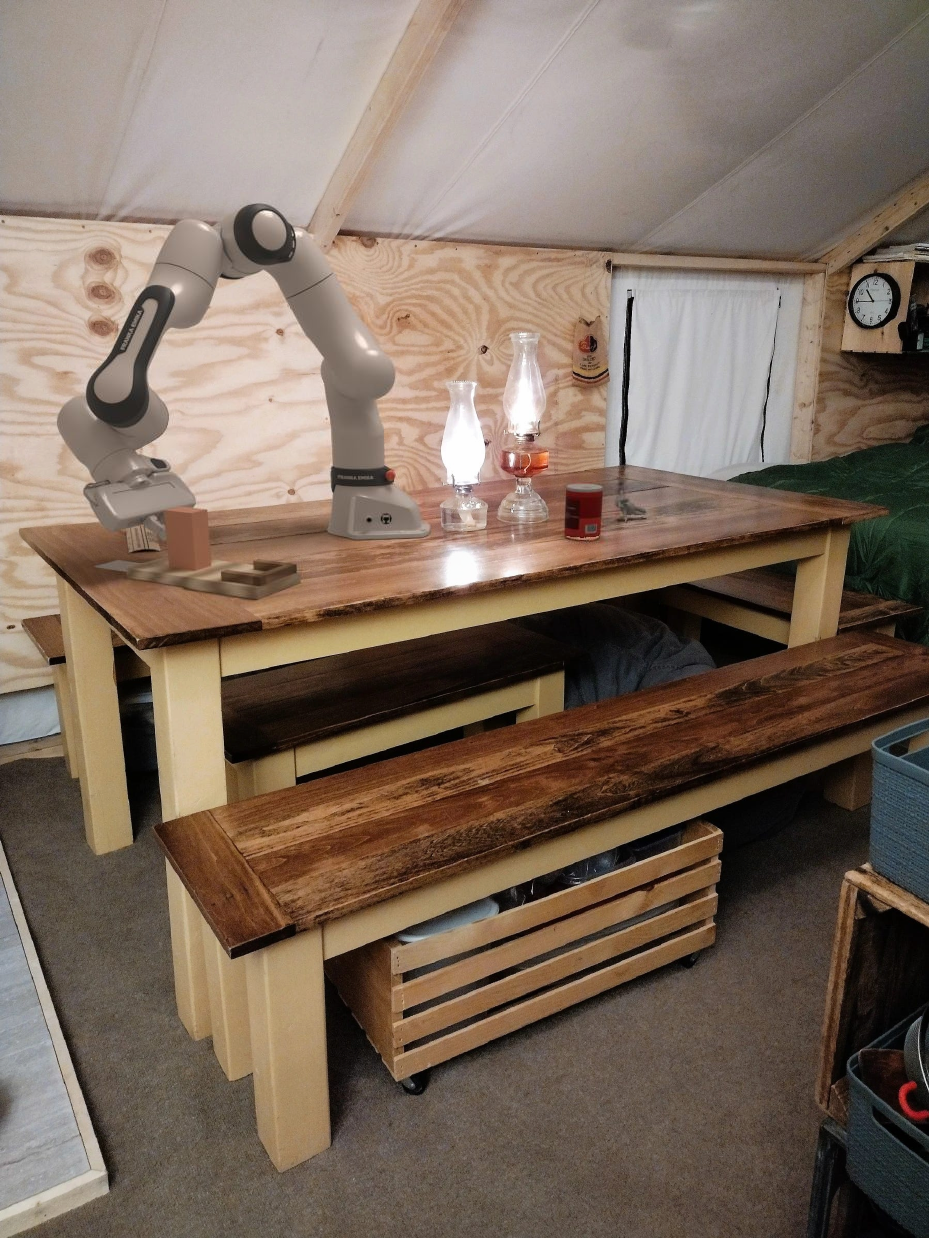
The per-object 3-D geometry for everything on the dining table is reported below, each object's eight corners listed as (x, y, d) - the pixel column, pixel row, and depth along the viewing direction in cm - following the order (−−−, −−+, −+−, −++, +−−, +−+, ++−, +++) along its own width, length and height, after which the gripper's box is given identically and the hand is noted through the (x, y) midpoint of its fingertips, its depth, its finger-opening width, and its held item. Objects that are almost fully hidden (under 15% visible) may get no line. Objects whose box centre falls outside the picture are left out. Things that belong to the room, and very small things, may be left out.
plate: (93, 568, 168) (93, 566, 167) (118, 561, 173) (118, 560, 173) (126, 573, 164) (126, 571, 164) (150, 566, 170) (150, 564, 169)
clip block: (168, 566, 161) (164, 510, 158) (184, 562, 164) (180, 506, 162) (195, 570, 159) (191, 513, 156) (211, 565, 162) (207, 509, 159)
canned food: (604, 535, 200) (607, 485, 197) (593, 542, 194) (596, 490, 190) (571, 532, 204) (573, 482, 200) (559, 539, 197) (561, 487, 193)
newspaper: (125, 534, 199) (125, 526, 199) (160, 532, 202) (159, 524, 201) (128, 558, 178) (128, 549, 178) (167, 556, 181) (166, 547, 180)
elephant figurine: (656, 523, 215) (625, 512, 211) (640, 538, 219) (609, 527, 216) (651, 491, 221) (620, 479, 217) (635, 506, 225) (605, 494, 221)
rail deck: (126, 579, 161) (124, 559, 160) (175, 564, 171) (173, 546, 170) (257, 599, 149) (256, 578, 148) (300, 582, 160) (299, 563, 159)
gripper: (86, 473, 152) (136, 537, 151) (173, 459, 170) (219, 516, 169) (69, 498, 155) (119, 560, 154) (156, 481, 173) (201, 538, 172)
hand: (172, 537), depth 162 cm, fingers closed, pressing on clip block
